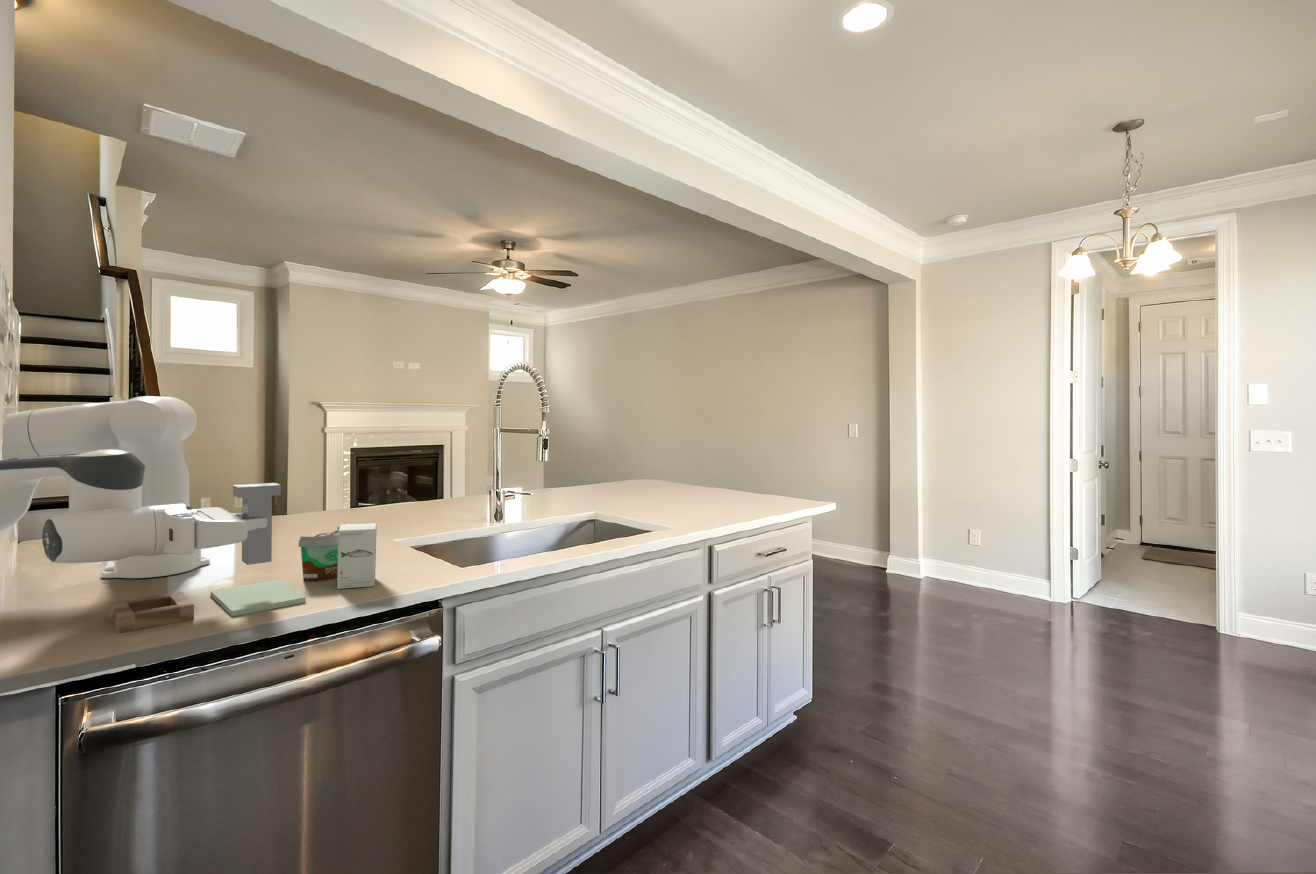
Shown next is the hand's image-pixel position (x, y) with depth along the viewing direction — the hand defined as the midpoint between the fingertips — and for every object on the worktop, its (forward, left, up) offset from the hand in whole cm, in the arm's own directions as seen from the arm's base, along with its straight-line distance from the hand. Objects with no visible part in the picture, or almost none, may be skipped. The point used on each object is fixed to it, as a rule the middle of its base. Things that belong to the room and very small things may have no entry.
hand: (262, 520), depth 118 cm
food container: (-7, +15, -16) cm, 23 cm away
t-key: (0, -1, -8) cm, 8 cm away
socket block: (0, -17, -16) cm, 23 cm away
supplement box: (+2, +17, -16) cm, 23 cm away
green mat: (0, -1, -16) cm, 16 cm away
